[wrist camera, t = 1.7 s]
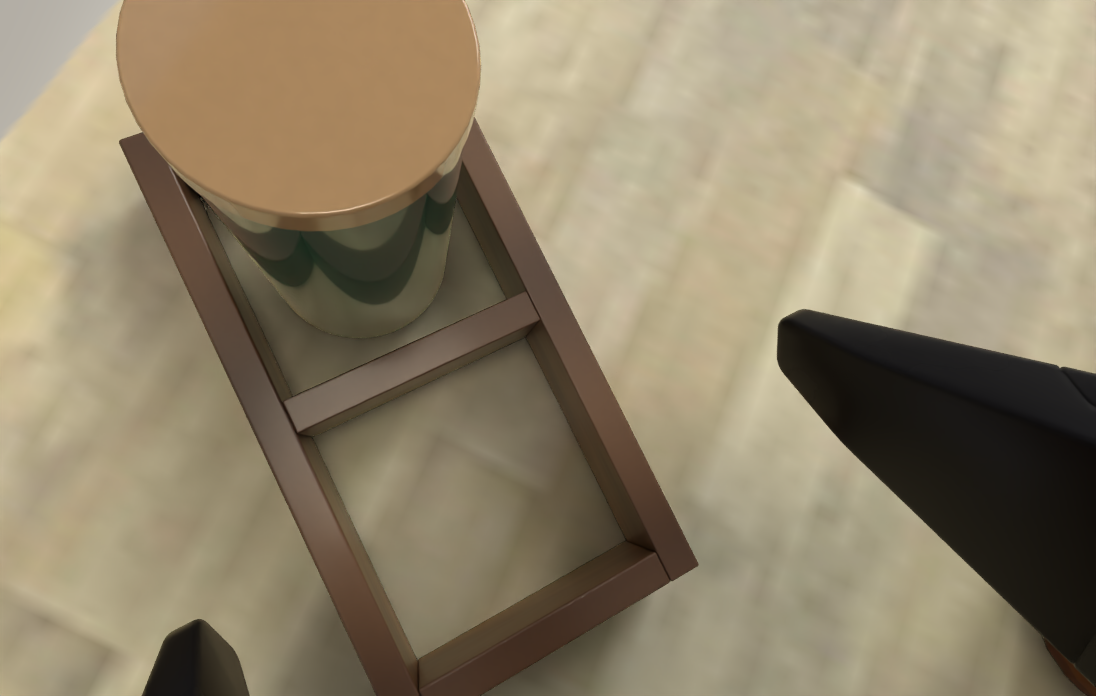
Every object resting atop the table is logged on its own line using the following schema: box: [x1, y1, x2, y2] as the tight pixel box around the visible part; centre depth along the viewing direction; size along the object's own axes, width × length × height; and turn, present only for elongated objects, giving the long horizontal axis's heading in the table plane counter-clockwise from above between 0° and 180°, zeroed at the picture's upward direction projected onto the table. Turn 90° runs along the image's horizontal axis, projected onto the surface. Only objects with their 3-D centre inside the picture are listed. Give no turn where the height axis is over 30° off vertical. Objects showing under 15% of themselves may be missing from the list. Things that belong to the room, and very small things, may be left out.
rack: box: [119, 117, 698, 696], centre depth 21 cm, size 18×10×3 cm, turn 27°
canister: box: [116, 0, 481, 339], centre depth 17 cm, size 6×6×12 cm
